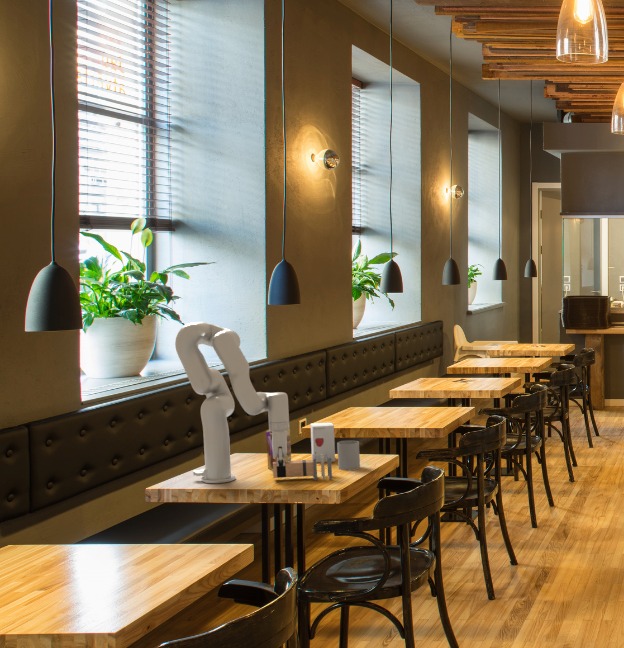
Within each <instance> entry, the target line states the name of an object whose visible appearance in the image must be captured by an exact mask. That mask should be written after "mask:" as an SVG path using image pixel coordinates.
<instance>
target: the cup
mask: <svg viewBox="0 0 624 648" xmlns="http://www.w3.org/2000/svg"><path fill="white" fill-rule="evenodd" d="M336 447H337V466H338V467H337V468H338V469H339V470H340V469H341V471H355V470H354V469H356V470H359V469H360V468H361V462H360V461H361V460H360V458H361V457H360V441H358V440H341V441H338V442H337V443H336ZM358 468H359V469H358Z"/></svg>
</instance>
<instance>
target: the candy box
mask: <svg viewBox="0 0 624 648" xmlns="http://www.w3.org/2000/svg"><path fill="white" fill-rule="evenodd" d="M265 431H266V433H265V435H266V454H267V469H268V470H273V462H277V457H275V459H274V458H273V448H272V432H271V431H269V429H268V430H265ZM286 435H287V453H286V458H285V457H284V458H285V461H292V448H291V447H292V446H291V429H290V430H288V431H286Z"/></svg>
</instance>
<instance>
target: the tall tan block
mask: <svg viewBox="0 0 624 648" xmlns="http://www.w3.org/2000/svg"><path fill="white" fill-rule="evenodd" d="M317 463H318V462H316V468H317V469H318V467H317ZM285 466H286V477H279V478H278V477H277V462H273V469H272V476H273V477H272V478H273V479H281V478H299V477H301V478H302V477H313V476H314V465H313V460H312V459H299V460H291V461H285Z"/></svg>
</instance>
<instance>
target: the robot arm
mask: <svg viewBox="0 0 624 648" xmlns="http://www.w3.org/2000/svg"><path fill="white" fill-rule="evenodd" d="M174 344H175V350H176V354H177V357H178V359H179V361H180V363H181V365H182V366H183V369H184V372H185V374H186V376H187V379H188V381H189V383H190V385H191V387H192V389H193V391H194V392H195V393H196V394H197V395H201V396H203V395H204V396H205V397H206V398H205V399H204V400H203V402H202V404H201V406H200V418H201V424H202V431H203V448H204V449H203V451H204V454H203V455H204V468H202V469H200V470H199V469H196V470H193V472H192V473H193V476H196V477H201V478H200V479H201V482H202V483H204V484H205V483H206V484H224V483H228V482H232V481H234V480H236V475H235V474H233V473H232V471H231V470H232V468H231V465H232V464H231V451H230V450H231V447H230V446H231V445H230V429H229V423H228V420H227V419H228V417H229V416H231V415H232V414H233V413H234V411H235V400H234V397H233V395H232V393H231V391H230V389H229V387H228V385H227V382H226V380H225V378H224V376H223V374H222V373H221V372H220V371H219V370H218V369H216V368H214V367H209V365H208V363H207V361H206V358H205V356H204V355H203V353H202V352H201V350H200V348H199V345H206V346H208V347H211V348H213V349H214V352H215V353H216V356H217V357H218V359H219V360H220V362H221V364H222V366H223V367H224V369H225V371H226V373H227V374H228V377H229V380H230V384H231V387H232V390H233V392H234V393H233V394H234V395H235V398H236V399H237V401H238V402H239V405H240V406H241V408H242V409H243V410H244V412H245V413H247V414H248V415H250V416H256V415H260V414H261V413H264V412H268V413H267V414H268V430H269V431H271V432H272V448H273V458H274V459H275V457H277V477H278V478H277V479H280V478H279V477H286V466H285V458H286V453H287V435H286V431H288V430H290V431H291V429H290V416H289V415H290V414H289V411H290V409H289V397H288V394H287V393H286V392H283V391H282V392H281V391H280V392H279V391H277V392H262V391H256V389H255V387H254V386H253V383H252V381H251V379H250V378H251V377H250V364H249V362H248V360H247V358H246V356H245V355H244V353H243V351H242V349H241V348H240V345H241V337H240V335H239V334H238V333H237V332H236V331H234V330H232V329H229V328H225V327H222V326H218V325H216V324H214V323H210V322H207V321H206V322H205V321H195V322H190V323H186V324H185V325H183V326H182V327H181V328H180V329H179V331H178V332H177V334H176V337H175V343H174ZM284 457H285V458H284ZM286 478H287V477H286Z"/></svg>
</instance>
